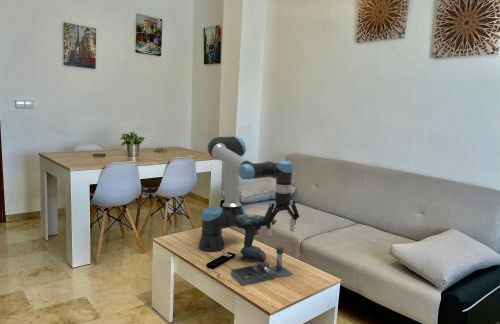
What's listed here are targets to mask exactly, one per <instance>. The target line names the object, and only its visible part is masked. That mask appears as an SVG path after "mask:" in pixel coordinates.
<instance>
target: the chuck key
mask: <svg viewBox="0 0 500 324" xmlns="http://www.w3.org/2000/svg"><path fill="white" fill-rule="evenodd" d="M284 250H285V249H284V247H282V246H280V247H279V246H278V247H276V265H275V266H276V271H278V272H281V271H282V266H283V254H284Z"/></svg>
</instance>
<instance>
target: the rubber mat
mask: <svg viewBox="0 0 500 324" xmlns="http://www.w3.org/2000/svg"><path fill="white" fill-rule="evenodd" d="M269 269H270V270H272V271H273V272H274V273H275V278H277V279H279V278H283V277H288V276H292V275H293V276H294V273H293V272H291V271H290V270H288V269H287V268H285V267H284V266H283V265H282V271H281V272H278V271H276V265H271V266H269Z"/></svg>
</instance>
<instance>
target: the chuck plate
mask: <svg viewBox="0 0 500 324" xmlns="http://www.w3.org/2000/svg"><path fill="white" fill-rule="evenodd" d="M269 267H270V264H269V263H268V262H266V261H265V262H262V263H260V262H256V264H253V265H249V266H248V265H247V266H244V267H239V268H234V269H231V271H230V276H231V277H232V278H233V279H234V280H235V281H236V282H237V283H238V284H240V285H241V286H242V287H244V286H248V285H253V284H259V283H261V282H265V281H266V282H267V281H270V280H275V279H276V276H275V273H274V272H273V271H272V270H270V269H269Z"/></svg>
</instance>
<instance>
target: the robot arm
mask: <svg viewBox="0 0 500 324" xmlns="http://www.w3.org/2000/svg"><path fill="white" fill-rule="evenodd" d="M245 143H246V142H245V141H244V140H243V139H242V137H240V136H235V135H234V136H217V137H214V138H212V139H211V140H210V141H209V142H208V144H207V153H208V154H209V156H210V157H211V158H212V159H214V160H217V161H220V162H222V163H224V202H222V205H221V206H209V207H207V208H204V209H203V211H202V214H201V236H200V238H199V241H198V249H199V250H200V251H203V252H206V253H207V252H209V253H216V252H220V251H223V250H224V249H225V241H224V237H223V234H222V233H223V229H229V228H233V227H234V228H235V227H237V226H236V224H235V218H236V216H237V215H244V214H246V211H245V208H244V207H243V206H242V205H243V204H242V203H241V202H240V179H241V180H255V179H263V178H273V179H275V180H276V181H275V197H274V198H275V202H271V201H270V202H269V205H268V208H267V210H266V212H265V215H264V216H265V217H264V219H263V221H265V222H267V226H266V229H267V232H266V233H267V235H268V236H270V237H271V236H272V233H273V225H272V223H271V221H272V220H273V219H275V217H276V215H278V213H280V212H283V211H287V213H288V215H289V216H290V217H291V218H290V222H289V223H290V224H289V231H290V232H292V233H295V226H296V222H297V220H298V218H300V214H299V212H298V209H297V206H296V200H293V199H291V195H292V194H291V192H292V179H293V178H292V177H293V163H292V162H291V161H290V160H278V161H277V162H273V161H270V160H269V161H267V160H264V161H263V162H258V163H257V162H256V163H253V162H251V161H249V160H247V159H246V158H244V157H243V156H244V155H245V154H246V150H247V149H246V144H245ZM290 206H291V207H290Z"/></svg>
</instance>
